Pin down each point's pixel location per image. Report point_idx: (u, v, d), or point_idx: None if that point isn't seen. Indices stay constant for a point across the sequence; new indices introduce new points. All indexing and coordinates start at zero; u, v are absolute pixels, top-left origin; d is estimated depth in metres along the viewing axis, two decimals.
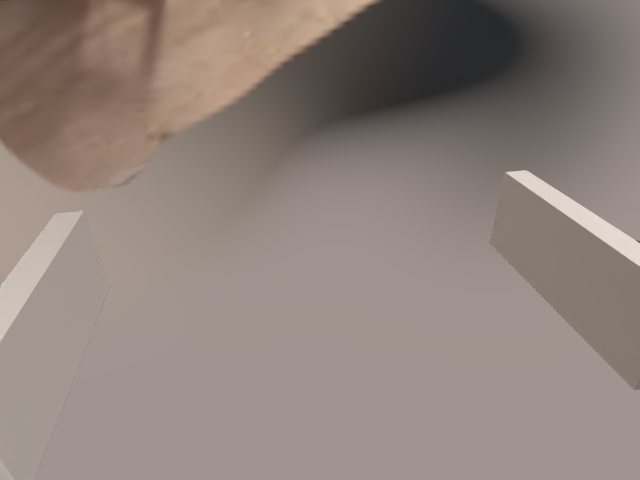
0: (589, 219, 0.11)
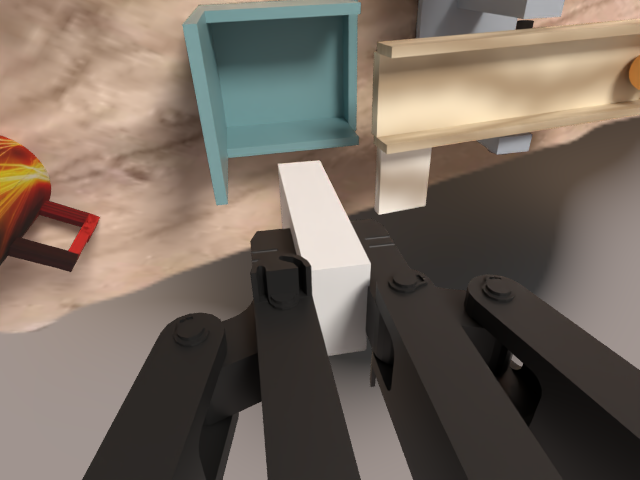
0: (329, 202, 0.12)
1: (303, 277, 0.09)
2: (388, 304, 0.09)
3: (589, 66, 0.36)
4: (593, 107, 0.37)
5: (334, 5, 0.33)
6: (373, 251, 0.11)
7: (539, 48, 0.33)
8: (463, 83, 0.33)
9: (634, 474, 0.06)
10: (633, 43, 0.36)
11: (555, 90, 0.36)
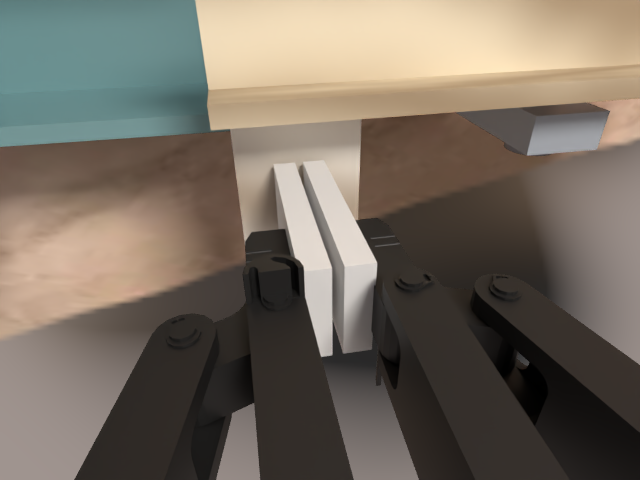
0: (334, 202, 0.12)
1: (296, 278, 0.09)
2: (395, 303, 0.09)
3: None
4: None
5: None
6: (379, 251, 0.11)
7: None
8: None
9: None
10: None
11: None
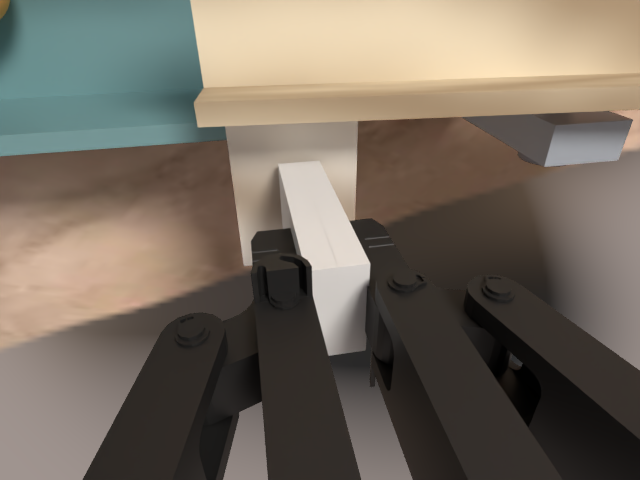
0: (329, 202, 0.12)
1: (303, 278, 0.09)
2: (388, 304, 0.09)
3: None
4: None
5: None
6: (372, 251, 0.11)
7: None
8: None
9: (634, 475, 0.06)
10: None
11: None
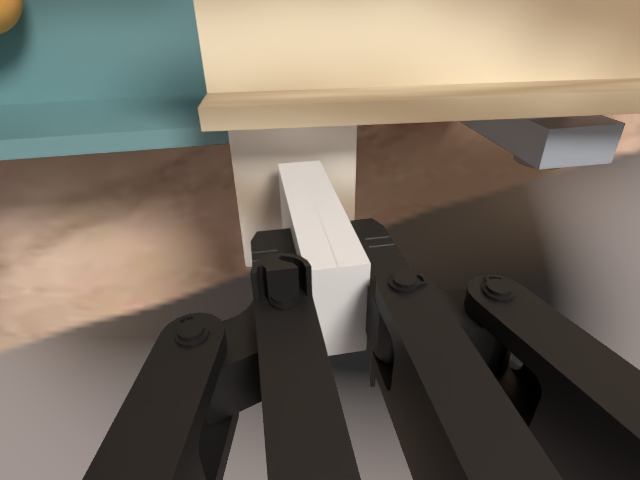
0: (329, 202, 0.12)
1: (303, 277, 0.09)
2: (388, 304, 0.09)
3: None
4: None
5: None
6: (373, 251, 0.11)
7: None
8: None
9: (634, 475, 0.06)
10: None
11: None
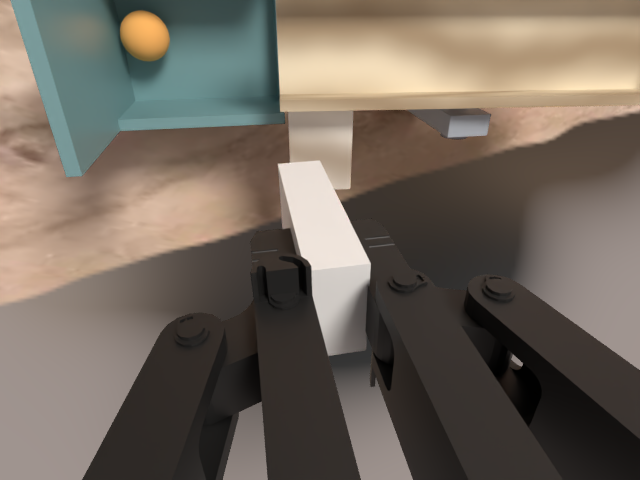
0: (329, 202, 0.12)
1: (303, 277, 0.09)
2: (388, 304, 0.09)
3: (569, 35, 0.28)
4: (576, 90, 0.29)
5: None
6: (373, 251, 0.11)
7: (493, 3, 0.27)
8: (389, 39, 0.27)
9: (634, 475, 0.06)
10: (635, 9, 0.27)
11: (520, 62, 0.29)
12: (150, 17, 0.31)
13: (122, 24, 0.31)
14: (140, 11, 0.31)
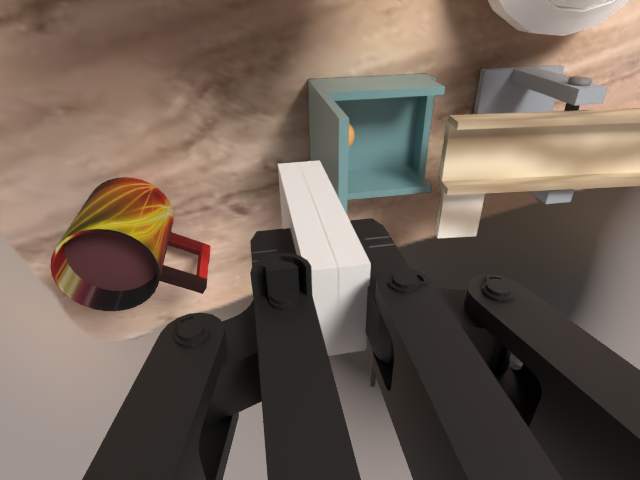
0: (329, 202, 0.12)
1: (303, 277, 0.09)
2: (388, 304, 0.09)
3: (628, 141, 0.44)
4: (630, 173, 0.45)
5: (425, 88, 0.42)
6: (373, 251, 0.11)
7: (582, 126, 0.42)
8: (515, 147, 0.43)
9: (634, 475, 0.06)
10: None
11: (595, 158, 0.44)
12: None
13: None
14: None
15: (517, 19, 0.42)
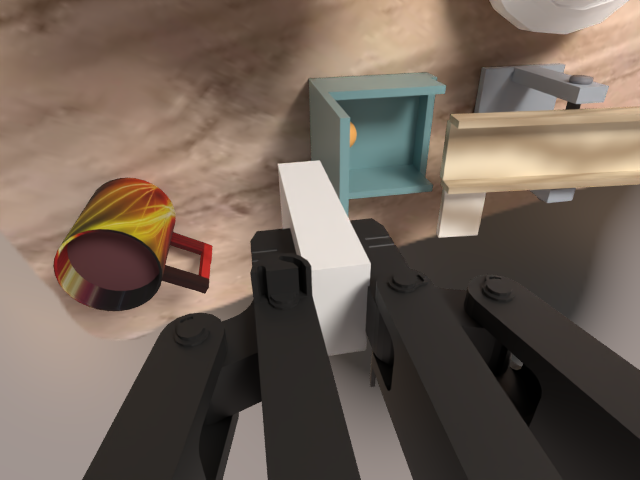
0: (329, 202, 0.12)
1: (303, 277, 0.09)
2: (388, 304, 0.09)
3: (629, 140, 0.44)
4: (632, 172, 0.45)
5: (426, 87, 0.42)
6: (373, 251, 0.11)
7: (583, 124, 0.42)
8: (516, 146, 0.43)
9: (634, 474, 0.06)
10: None
11: (597, 156, 0.44)
12: (350, 124, 0.47)
13: None
14: None
15: (518, 18, 0.42)
